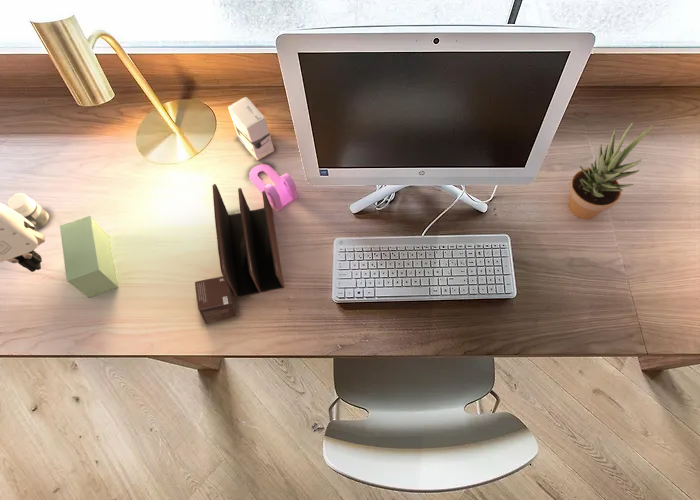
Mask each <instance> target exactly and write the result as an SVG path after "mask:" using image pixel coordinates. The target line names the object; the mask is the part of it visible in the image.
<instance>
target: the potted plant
mask: <svg viewBox="0 0 700 500" xmlns="http://www.w3.org/2000/svg"><path fill="white" fill-rule="evenodd" d="M633 125H634V123H633V122H631V123H630V124H629V126H628V127H627V128H626V130H625V131H624V133H623V134H622V137H620V138H621V139H620V140H619V142H618V143H617V146H616V148H615V139H616V131H617V130H616V128H615V129H613V133H612V134H611V138H610V141H609V144H606V145H605V149H604V150H603V146H602V145H603V144H600V145H599V148H598V154H597V160H596V159H594V162H593V163H592V162H591V163H590V166H588V168H584V167H582V165H579V168H580V170H579V171H577V172H576V173H575V174H574V175H573V176H572V178H571V180H570V181H569V185H568V187H569V189H568V190H569V191H568V192H569V197H568V202H567V203H568V204H567V205H568V208H569V211H570V213H571V214H572V215H573V216H574V217H576V218H578V219H581V220H582V219H583V220H590V219H592V218H595V217H596V216H597V215H598V214H600V213H601V212H603V211H606V210H609V209H611V208H613V207H614V206H615V205H616V204H617V203H618V202H619V200H620V198H621V196H622V191H624V189H623V188H628V187H631V186H634V183H629V184H620V183H619V182H618V180H621V179H624V178H627V177H630V176H632V175H635V174H637V173H638V172H639V171H640V169H637V170H632V171H628V170H629V169H631V168H634V167H636V166H637V165H639V163H641V162H642V161H643V159H639V160H637V161H633V162H630V163H626V164H622V163H623V162H624V160H625V159H627V157H628V155H629V154H630V153H631V152H632V151H633V149H635V147H636V146H637V145H638V144H639V143H640V142H641V141H642V140H643V139H644V138H645V137H646V135H647V134H648V133H649V132H650V131H651V129H652V128H653V126H654V125H653V124H652V125H650V126H649V127H648V128H647V129H646V130H644V131H643V132H641V134H640V135H638V136H637V137H636V138H635V139H634V140H633V141H632V142H631V143H630V144H629V145H628V146H627V147H626V148H624V149H623V150H622V151H621V148H622V146H623V144H624V142H625V140H626V138H627V136H628V134H629V132H630V130H631V128H632V126H633ZM603 151H604V152H603Z"/></svg>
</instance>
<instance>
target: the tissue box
mask: <svg viewBox="0 0 700 500" xmlns="http://www.w3.org/2000/svg"><path fill="white" fill-rule="evenodd" d="M59 230H60V238H61V239H60V240H61V245H62V254H63V262H64V270H65V277H66V278H65V279H66V282H67V283H68V284H70V285H71V286H73V288H75V289H76V290H77V291H79V292H80V293H82V294H83V295H84V296H86V297H87V298H92V297H95V296H98V295H100V294H103V293H107V292H109V291H112V290H115V289H118V288H119V282H118V278H117V271H116V266H115V260H114V256H113V255H114V254H113V250H112V244H111V237H110V235H109V234H108V233H107V232H106V231H105V230H104V229H103V228H102V226H100V225H99V223H98V222H96V220H95V219H94V218H93V217H92V216H91V215H88V216H86V217H82V218H79V219H77V220H74V221H70V222H68V223H67V222H66V223H65V224H62V225H59Z"/></svg>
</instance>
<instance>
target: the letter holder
mask: <svg viewBox="0 0 700 500" xmlns="http://www.w3.org/2000/svg"><path fill="white" fill-rule="evenodd" d="M237 193H238V203H239V205H238V206H239V212H238V213H233V214H231V213H230V214H229V212H228V210H227V207H226V204H225V202H224V200H223V198H222V194H221V193H220V190H219V187H218V186H217V184H215V183H213V184H212V199H213V212H214V222H215V223H214V224H215V233H216V242H217V243H216V244H217V251H218V252H217V253H218V259H219V267H220V272H221V275H222V276H224V279H225V280H226V282H227V284H228V285H229V287H230V289H231V291H232V294H233V297H234V299H235V298H236V299H239V298H242V297H247V296H251V295H256V294H263V293H266V292H271V291H275V290H279V289H285V284H284V277H283V272H282V265H281V258H280V253H279V252H280V251H279V246H278V240H277V233H276V227H275V222H274V214H273V209H272V204H271V203H270V202H269V200H268V198H267V195H266V193H265V191H263V192H262V193H261V195H262V200H263V208H257V209H252V210H251V209H250V207H249V204H248V203H247V200H246V197H245V195H244V192H243V189H242V188H241V187H239V188H238V189H237Z"/></svg>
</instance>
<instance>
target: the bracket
mask: <svg viewBox="0 0 700 500" xmlns="http://www.w3.org/2000/svg"><path fill="white" fill-rule="evenodd" d="M260 173H265V175H266V176H267V177H268V178H269V179H270V180H271V181H272V182H273V183H274V185H273V184H272V183H268V184H266V183H265V182H264V181H263V180H262V179H261V178H260V177H259V174H260ZM248 175H249V176H248V177H249V180H250V182H251V183H252V184H253V185H254V186H255V188H256V189H257V190H259V192H260V193H261V194H262V192H263V191H265V193H266V195H267V198H268V200H269V203H270V205H271V206H272V207H273V208H274V209H275V211H277V212H278V211H280V210H281V209H283V208H284V207H286V206H287V205H289V204H290V203H292V202H293V201H295V200H296V199H298V198H299V194H298V190H297V185H296V183H295V181H294V179H293V178H292V177H291V175H289V173H287V172H286V173H284V174H282V175H281V176H280V175H279V173H277V171H276V170H274V168H273V167H272V166H271V165H269V164H266V163H261V164H257V165H255V166H253V167H252V168H251V169H250V171H249V173H248Z"/></svg>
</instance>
